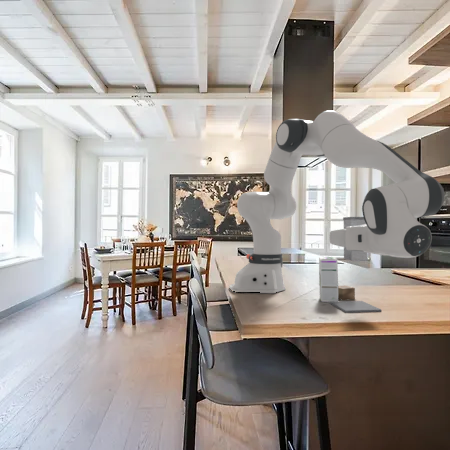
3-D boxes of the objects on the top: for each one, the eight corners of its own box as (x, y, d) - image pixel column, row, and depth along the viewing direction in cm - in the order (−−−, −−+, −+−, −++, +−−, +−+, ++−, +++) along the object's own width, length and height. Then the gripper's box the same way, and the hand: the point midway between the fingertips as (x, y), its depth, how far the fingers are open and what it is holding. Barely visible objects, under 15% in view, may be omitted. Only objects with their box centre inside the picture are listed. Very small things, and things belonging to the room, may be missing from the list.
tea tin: (351, 260, 97) (351, 216, 97) (343, 258, 102) (343, 217, 102) (367, 260, 98) (367, 216, 98) (359, 258, 103) (358, 217, 103)
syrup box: (338, 302, 107) (338, 258, 107) (320, 302, 108) (320, 258, 108) (336, 298, 112) (336, 257, 112) (318, 298, 113) (318, 256, 113)
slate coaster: (345, 312, 94) (345, 310, 94) (329, 303, 105) (329, 301, 105) (381, 311, 95) (381, 309, 95) (361, 302, 106) (361, 300, 106)
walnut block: (342, 300, 110) (342, 288, 110) (333, 297, 115) (333, 286, 115) (354, 299, 112) (354, 287, 112) (345, 296, 117) (345, 285, 117)
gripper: (413, 226, 89) (384, 226, 102) (342, 226, 87) (322, 226, 100) (414, 249, 89) (384, 246, 102) (342, 250, 87) (322, 246, 100)
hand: (352, 236), depth 101 cm, fingers closed on tea tin, 5 cm apart
